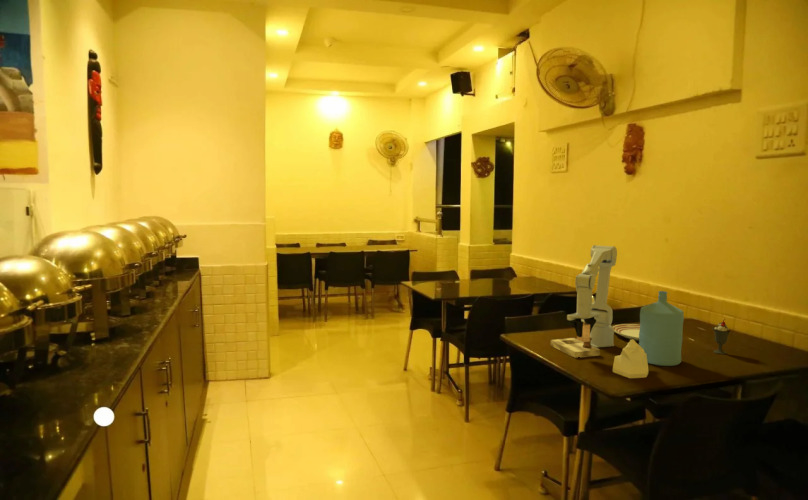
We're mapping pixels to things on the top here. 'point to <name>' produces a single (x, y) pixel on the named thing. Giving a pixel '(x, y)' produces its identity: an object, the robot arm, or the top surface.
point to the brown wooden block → (585, 333)
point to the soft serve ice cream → (631, 361)
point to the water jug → (661, 332)
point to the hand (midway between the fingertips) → (583, 336)
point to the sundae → (721, 336)
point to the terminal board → (575, 347)
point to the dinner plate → (628, 331)
